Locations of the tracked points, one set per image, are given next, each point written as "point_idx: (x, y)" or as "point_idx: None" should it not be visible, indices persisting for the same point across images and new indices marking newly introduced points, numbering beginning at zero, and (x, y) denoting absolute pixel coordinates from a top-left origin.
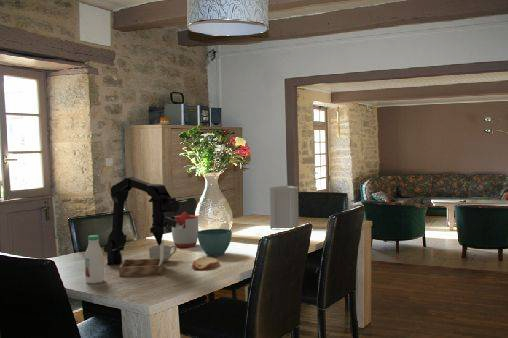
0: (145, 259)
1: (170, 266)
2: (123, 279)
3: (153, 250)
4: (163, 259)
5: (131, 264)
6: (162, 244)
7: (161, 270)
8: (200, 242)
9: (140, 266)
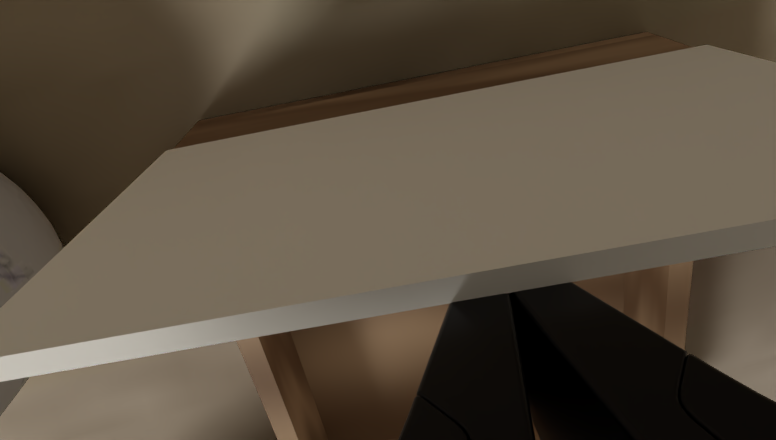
0: (269, 361)
1: (175, 16)
2: (763, 337)
3: (2, 388)
4: (12, 183)
5: (319, 435)
6: (403, 234)
7: (437, 74)
8: None
9: (688, 299)
